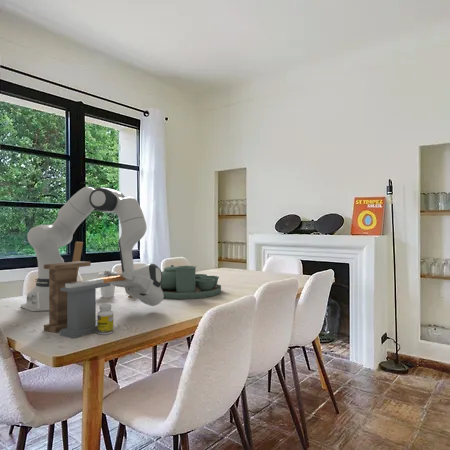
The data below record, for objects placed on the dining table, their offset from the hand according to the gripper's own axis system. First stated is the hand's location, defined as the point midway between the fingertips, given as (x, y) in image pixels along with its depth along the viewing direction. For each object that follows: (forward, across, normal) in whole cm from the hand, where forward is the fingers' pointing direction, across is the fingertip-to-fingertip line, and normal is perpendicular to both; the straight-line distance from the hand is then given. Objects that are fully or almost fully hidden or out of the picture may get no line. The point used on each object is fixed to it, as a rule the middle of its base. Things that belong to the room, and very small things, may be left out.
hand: (113, 273), depth 141 cm
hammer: (-43, -76, -2) cm, 87 cm away
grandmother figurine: (-47, -32, -4) cm, 57 cm away
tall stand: (+1, -11, +23) cm, 26 cm away
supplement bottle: (0, +8, +23) cm, 24 cm away
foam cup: (-42, -45, -1) cm, 62 cm away
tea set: (-68, -14, -16) cm, 72 cm away
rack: (+2, 0, +23) cm, 23 cm away
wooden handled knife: (+5, 0, +7) cm, 9 cm away
